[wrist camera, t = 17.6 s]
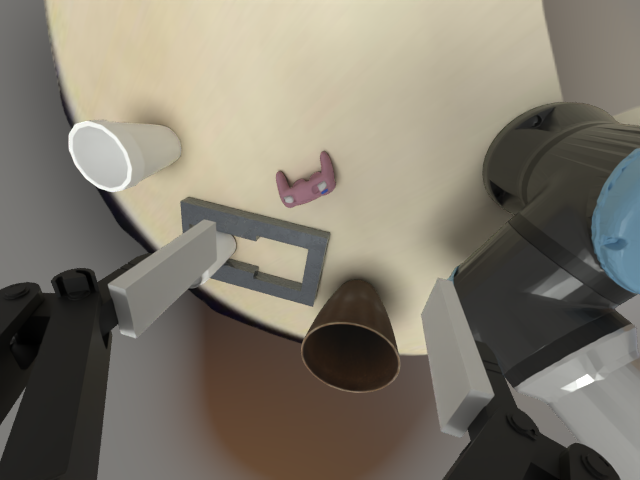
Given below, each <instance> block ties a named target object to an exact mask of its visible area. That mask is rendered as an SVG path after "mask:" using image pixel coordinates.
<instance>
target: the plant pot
mask: <svg viewBox="0 0 640 480" xmlns="http://www.w3.org/2000/svg"><path fill="white" fill-rule="evenodd" d="M301 355H302V359H303V362H304V364H305V365H306V367H307V368H308V370H309V371H310V372H311V373H312V374H313V375H314V376H315V377H316V378H317V379H319V380H320V381H322V382H323V383H325V384H327V385H329V386H331V387H333V388H336V389H339V390H343V391H348V392H356V393H364V392H372V391H376V390H379V389H382V388H384V387H386V386H388V385H389V384H390V383H392V382H393V381H394V380H395V378H396V377H397V375H398V373H399V370H400V358H399V353H398V349H397V345H396V340H395V336H394V332H393V329H392V326H391V323H390V320H389V317H388V314H387V312H386V310H385V307H384V305H383V303H382V301H381V299H380V297H379V295H378V293H377V292H376V290H375V289H374V287H373V286H372V285H371V284H369V283H368V282H366V281H363V280H350V281H348V282H346V283H344V284H343V285H342V286H341V287H340V288H339V289H338V290H337V291H336V292H335V293H334V294H333V295H332V296H331V298H330V299H329V300H328V301H327V303H326V304H325V305H324V306H323V308H322V309H321V311H320V312H319V314H318V315H317V317H316V319H315V320H314V322H313V324H312V325H311V327H310V329H309V331H308V333H307V334H306V336H305V338H304V340H303V343H302V346H301Z"/></svg>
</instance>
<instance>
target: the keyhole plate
mask: <svg viewBox="0 0 640 480" xmlns="http://www.w3.org/2000/svg"><path fill="white" fill-rule="evenodd" d="M180 202H181V215H182V229H183V233H185V232H186V231H188V230H189V229H191V228H192V227H194V226H195V225H197V224H198V223H199V222H201V221H202V220H204V219H205V220H209V221H213V222H216V231H219V232H223V233H226V234H230V235H234V236H238V237H242V238H245V239H249V240H253V241H257V240H258V238H259V237H264V238H268V239H272V240H276V241H280V242H283V243H287V244H291V245H295V246H299V247H303V248H306V249H309V250H308V255H307V261H306V266H305V271H304V277H303V282H302V283H298V282H294V281H291V280H287V279H283V278H280V277H276V276H272V275H269V274H265V273H261V272H258V266H254V265H250V264H247V263H243V262H239V261H235V260H232V259H228V260H227V261H226V262H225V263H224V264H223V265H222V266H221V267H220V268H219V269H218V270H217V271H216V272H215V273H214V274H213V275H212V276H211V277H210V278H212V279H215V280H219V281H222V282H226V283H230V284H233V285H237V286H240V287H244V288H248V289H251V290H255V291H258V292H262V293H265V294H269V295H273V296H276V297H280V298H283V299H287V300H290V301H294V302H298V303H301V304H305V305H308V306H312V307H313V305H314V302H315V299H316V294H317V290H318V285H319V281H320V276H321V272H322V267H323V263H324V258H325V254H326V249H327V245H328V240H329V236H330V233H329V232H325V231H321V230H317V229H313V228H309V227H305V226H301V225H297V224H293V223H289V222H286V221H282V220H278V219H274V218H270V217H266V216H262V215H258V214H254V213H250V212H246V211H242V210H238V209H234V208H230V207H226V206H222V205H218V204H214V203H211V202H207V201H203V200H199V199H195V198H191V197H188V198H186V199H184V200H182V201H180Z"/></svg>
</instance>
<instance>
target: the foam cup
mask: <svg viewBox="0 0 640 480" xmlns="http://www.w3.org/2000/svg"><path fill="white" fill-rule="evenodd" d="M69 150H70V153H71V156H72V158H73V161H74V163H75V165H76V167H77V168H78V169H79V170H80V172H81V173H82V174H83V176H84V177H85V178H86V179H87V180H89V181H90V182H91V183H92V184H94V185H95V186H97V187H98V188H100V189H103V190H106V191H110V192H116V191H121V190H125V189H128V188H130V187H133V186H136V185H137V184H138V183H139V182H140V181H142V180H144V179H145V178H147V177H149V176H151V175H152V174H154V173H156V172H158V171H159V170H161V169H163V168H165V167H167V166H168V165H170V164H172V163H174V162H175V161H176V160H177V159H178V158H179V157H180V155H181V151H182V148H181V143H180V140H179V138H178V137H177V135H176V133H175V132H173V131H172V130H171V129H170V128H169V127H166V126H162V125H155V124H140V123H125V122H111V121H107V120H103V119H102V120H90V121H84V122H81V123H78V124H75V125H74V127H73V128H72V130H71V132H70V133H69Z"/></svg>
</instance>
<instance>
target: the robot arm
mask: <svg viewBox="0 0 640 480" xmlns="http://www.w3.org/2000/svg"><path fill="white" fill-rule="evenodd" d="M483 182H484V185H485V188H486V190H487V192H488V194H489V195H490V197H491V198H492V199H493V200H494V201H495V202H496V203H497V204H498V205H499V206H501V207H502V208H503V209H505V210H506V211H508V212H510V213H513V214H515V216H514V217H513V218H512V219H511V220H510V221H508V222H507V223H506V224H505V225H504V226H503V227H502V228H501V229H500V230H499V231H497V232H496V233H495V234H494V235H493V236H492V237H491V238H490V239H489V240H488V241H487V242H486V243H485V244H483V245H482V246H481V247H480V248H479V249H478V250H477V251H476V252H475V253H473V254H472V255H471V256H470V257H469V258H468V259H467V260H466V261H465V262H464V263H462V264H461V265H459V266H457V267H456V268H455V269H454V271H453V272H452V275H451V276H450V277H449V278H448V279H447V280H445V279H441V278H438V279H437V281H436V283H435V285H434V288H433V290H432V292H431V294H430V296H429V299H428V301H427V303H426V305H425V307H424V309H423V312H422V314H421V317H422V323H423V329H424V335H425V341H426V346H427V352H428V358H429V363H430V370H431V375H432V381H433V387H434V393H435V399H436V405H437V411H438V417H439V423H440V428H441V432H444V433H447V434H451V435H454V436H457V437H460V438H461V437H462V436H463V435H464V434H465V432H466V431H467V430H468V432H469V436H470V440H471V441H470V443H469V444H468V445H467V446H466V447H465V449H464V450H463V451H462V452H461V454H460V456H459V457H458V459H457V460H456V461H455V463H454V464H453V466H452V467H451V468H450V470H449V471H448V472H447V474H446V475H445V477H444V478H443V479H442V480H640V353H639V352H638V344H637V328H636V327H635V326H634V325H633V324H632V323H631V322H629V321H628V320H627V319H626V318H624V317H623V316H622V315H621V314H619V313H618V312H617V311H616V310H615V308H616V307H617V306H619V305H621V304H622V303H624V302H626V301H627V300H629V299H631V298H632V297H634V296H636V295H637V294H640V126H636V125H626V124H620V123H619V122H617V121H616V120H615V119H614V118H613V117H612V116H611V115H609V114H608V113H607V112H605V111H604V110H602V109H600V108H598V107H595V106H592V105H589V104H584V103H573V102H572V103H571V102H559V103H551V104H547V105H543V106H540V107H537V108H534V109H532V110H530V111H528V112H526V113H524V114H522V115H520V116H519V117H517V118H516V119H514V120H513V121H512V122H511V123H509V124H508V125H507V126H506V127H505V128H504V129H503V130H502V131H501V132H500V133H499V134H498V135H497V137H496V138H495V139H494V141H493V142H492V144H491V146H490V148H489V150H488V152H487V154H486V157H485V160H484V164H483ZM216 261H217V243H216V222H213V221H209V220H205V219H204V220H202V221H201V222H199V223H198V224H197V225H195V226H194V227H192V228H191V229H189V230H188V231H186V232H185V233H183V234H182V235H180V236H179V237H177V238H176V239H174V240H173V241H171V242H170V243H168V244H167V245H165V246H164V247H162V248H161V249H159V250H158V251H156V252H155V253H153V254H150V253H147V254H144V255H141V256H139V257H136V258H135V259H133V260H131V261H130V262H128V264H125V265H124V266H122V267H121V268H120V269H117V270H116V271H114V272H113V273H111V274H110V275H108V276H106V277H105V278H103V279H102V280H100V281H99V282H97V280H96V276H95V273H94V271H92V270H91V269H86V268H77V269H71V270H67V271H64V272H62V273H60V274H58V275H56V276H55V277H54V278H53V279H52V280H51V283H52V286H53V288H54V291H55V293H42V291H41V289H40V286H39V285H38V284H36V283H30V282H26V283H18V284H13V285H10V286H8V287H5V288H3V289H1V290H0V425H1V423H2V421H3V420H4V419H5V417H6V416H7V414H8V413H9V411H10V410H11V408H12V407H13V405H14V404H15V402H16V400H17V399H18V398H19V396H20V395H21V393H22V392H23V390H24V388H25V387H26V389H25V392H24V395H23V398H22V401H21V403H20V406H19V409H18V412H17V415H16V418H15V421H14V423H13V426H12V429H11V432H10V435H9V438H8V441H7V444H6V446H5V450H4V452H3V455H2V458H1V461H0V480H97V474H98V464H99V455H100V446H101V435H102V427H103V417H104V408H105V399H106V389H107V380H108V371H109V361H110V351H111V343H112V332H111V330H112V329H113V328H114V327H115V326H116V325H117V324H118V325H119V329H120V332H121V334H124V335H127V336H130V337H133V338H137V337H138V336H139V335H140V334H141V333H142V332H143V331H145V330H146V329H147V328H148V327H149V326H150V325H151V324H152V323H153V322H154V321H155V320H156V319H157V318H158V317H159V316H160V315H161V314H162V313H163V312H164V311H165V310H166V309H167V308H168V307H169V306H170V305H171V304H172V303H173V302H174V301H175V300H177V299H178V297H180V296H181V295H182V294H183V293H184V292H185V291H186V290H187V289H188V288H189V287H190V286H191V285H192V284H193V283H194V282H195V281H196V280H197V279H198V278H199V277H200V276H201V275H202V274H203V273H204V272H205V271H206V270H208V269H209V268H210V267H211V266H212V265H213V264H214V263H215V262H216ZM505 378H506V379H507V381H508V382H509V383H510V384H511V386H512V387H513V388H514V389H515V391H516V392H518V393H522V394H525V395H527V396H530V397H534V398H537V399H539V400H541V401H543V402H545V403H546V404H547V405H548V406H549V407H550V408H551V409H552V411H553V412H554V413H555V414H556V415H557V416H558V418H559V419H560V420H561V421H562V422H563V424H564V425H565V426H566V427H567V428H568V430H569V431H570V432H571V433H572V435H573V436H574V437H575V438H576V439H577V441H578V442H579V443H574V444H572V445H570V446H569V447H568V448H566V447H564V446H562V445H560V444H559V443H557V442H555V441H553V440H551V439H549V438H548V437H546V436H544V435H543V434H541V433H540V432H539V429H538V428H537V426H536V424H535V423H534V422H533V420H532V419H531V418H530V417H529V416H528V415H527V414H525V413H524V412H523V411H521V410H520V409H518V408H517V405H516V403H515V401H514V399H513V396H512V394H511V392H510V389H509V387H508V385H507V382H506V380H505Z"/></svg>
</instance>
